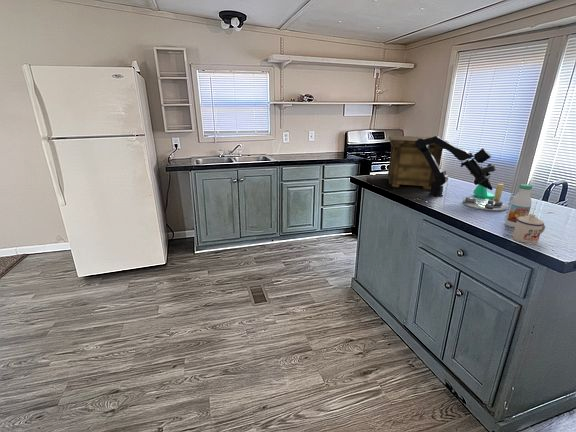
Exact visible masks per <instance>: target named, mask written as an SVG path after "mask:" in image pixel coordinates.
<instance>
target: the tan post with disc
mask: <svg viewBox="0 0 576 432" xmlns="http://www.w3.org/2000/svg"><path fill="white" fill-rule="evenodd" d="M504 186H505V184H504V183H497V184H496V189H495V193H494V195H495V196H494V199H489V200H488V202H487V203H488V204H493V205H497V206H501V205H502V204H504V203H503V202H502V201H501V197H502V194H503V189H504Z"/></svg>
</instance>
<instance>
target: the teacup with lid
mask: <svg viewBox="0 0 576 432" xmlns="http://www.w3.org/2000/svg"><path fill="white" fill-rule="evenodd" d="M545 230H546V226H545V222H544V220H542V219H540V218H538V217H537V216H536V214H534V213H529V215H528V216H521V217H518V218H517V223H516V226H515V228H514V231H513V234H512V238H514V239H513V240H515V239H516V240H518V241H517V242H519V241H521V242H520V243H522V242H525V243H524V244H526V243H536V244H537V243H538V242H539V239H540V236H541V234H543V233H544V232H545ZM516 240H515V241H516Z"/></svg>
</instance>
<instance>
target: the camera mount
mask: <svg viewBox="0 0 576 432" xmlns="http://www.w3.org/2000/svg"><path fill="white" fill-rule="evenodd" d="M472 194H473V195H475V196H476V197H475V198H482V199H489V200H494V196H495V194H493V193H491V192H488V189H487V188H485V187H483V186H481V185H479V184H477V185H476V187H475V188H474V190H473V193H472Z"/></svg>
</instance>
